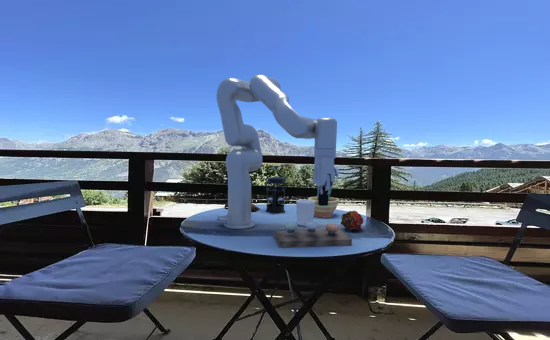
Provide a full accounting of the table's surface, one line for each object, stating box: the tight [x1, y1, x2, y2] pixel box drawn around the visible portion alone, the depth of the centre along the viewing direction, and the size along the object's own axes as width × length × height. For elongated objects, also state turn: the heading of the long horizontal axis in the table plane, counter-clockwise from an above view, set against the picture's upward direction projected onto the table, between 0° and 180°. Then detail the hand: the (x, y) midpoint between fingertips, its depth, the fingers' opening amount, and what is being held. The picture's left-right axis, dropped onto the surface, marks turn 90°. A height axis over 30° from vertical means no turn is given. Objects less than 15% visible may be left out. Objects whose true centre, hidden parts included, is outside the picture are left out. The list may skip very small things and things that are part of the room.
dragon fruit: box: [340, 210, 364, 232], centre depth 132 cm, size 8×8×12 cm
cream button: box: [304, 221, 319, 233], centre depth 116 cm, size 4×4×3 cm
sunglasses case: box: [224, 201, 261, 213], centre depth 169 cm, size 18×7×7 cm
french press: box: [265, 165, 286, 214], centre depth 163 cm, size 12×9×23 cm
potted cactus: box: [307, 166, 341, 218], centre depth 157 cm, size 15×15×25 cm
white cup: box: [295, 199, 315, 227], centre depth 140 cm, size 8×8×10 cm
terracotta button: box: [325, 223, 339, 235], centre depth 117 cm, size 4×4×3 cm
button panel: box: [273, 228, 353, 248], centre depth 116 cm, size 25×13×2 cm, turn 99°
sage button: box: [284, 221, 298, 233], centre depth 115 cm, size 4×4×3 cm
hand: (322, 205), depth 116 cm, fingers closed
